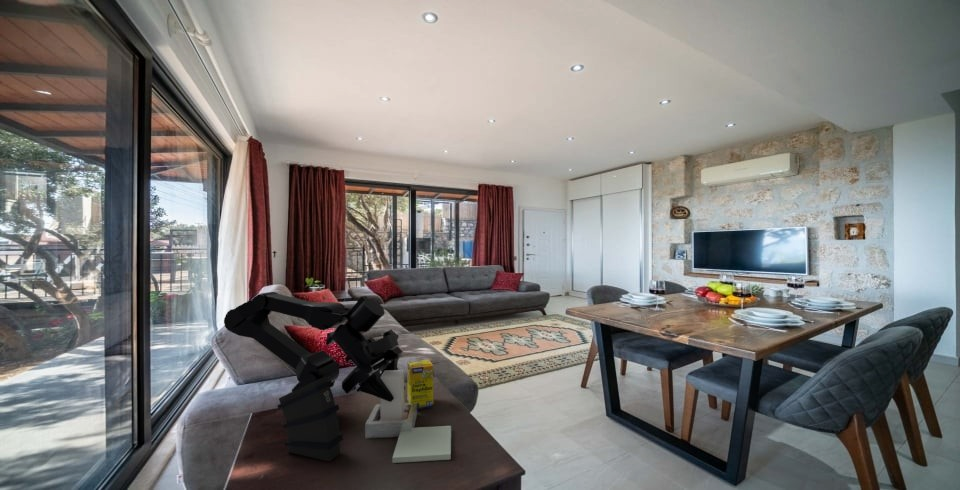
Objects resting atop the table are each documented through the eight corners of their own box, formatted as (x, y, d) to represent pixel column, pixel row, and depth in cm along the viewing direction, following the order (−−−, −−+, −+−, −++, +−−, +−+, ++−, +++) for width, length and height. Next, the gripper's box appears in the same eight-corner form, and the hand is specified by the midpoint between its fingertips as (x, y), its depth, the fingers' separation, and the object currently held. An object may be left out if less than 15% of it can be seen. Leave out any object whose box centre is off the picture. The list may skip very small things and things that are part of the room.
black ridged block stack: (341, 457, 64) (314, 381, 66) (293, 476, 67) (269, 402, 70) (355, 446, 67) (329, 374, 70) (308, 464, 71) (285, 395, 73)
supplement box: (411, 411, 86) (410, 368, 86) (407, 402, 91) (406, 361, 91) (434, 407, 88) (433, 364, 88) (429, 398, 93) (428, 358, 94)
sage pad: (392, 463, 64) (392, 457, 64) (401, 432, 75) (401, 428, 75) (450, 459, 65) (450, 454, 65) (451, 430, 76) (451, 425, 76)
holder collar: (365, 438, 73) (365, 424, 73) (375, 416, 83) (375, 404, 83) (412, 435, 74) (411, 421, 74) (417, 414, 84) (416, 402, 84)
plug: (376, 433, 75) (376, 378, 76) (382, 420, 81) (382, 369, 82) (404, 431, 76) (403, 377, 76) (407, 418, 82) (407, 368, 82)
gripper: (353, 330, 71) (403, 387, 68) (395, 314, 89) (435, 359, 86) (321, 366, 73) (368, 423, 70) (368, 343, 91) (407, 388, 88)
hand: (398, 394), depth 78 cm, fingers closed on plug, 6 cm apart
